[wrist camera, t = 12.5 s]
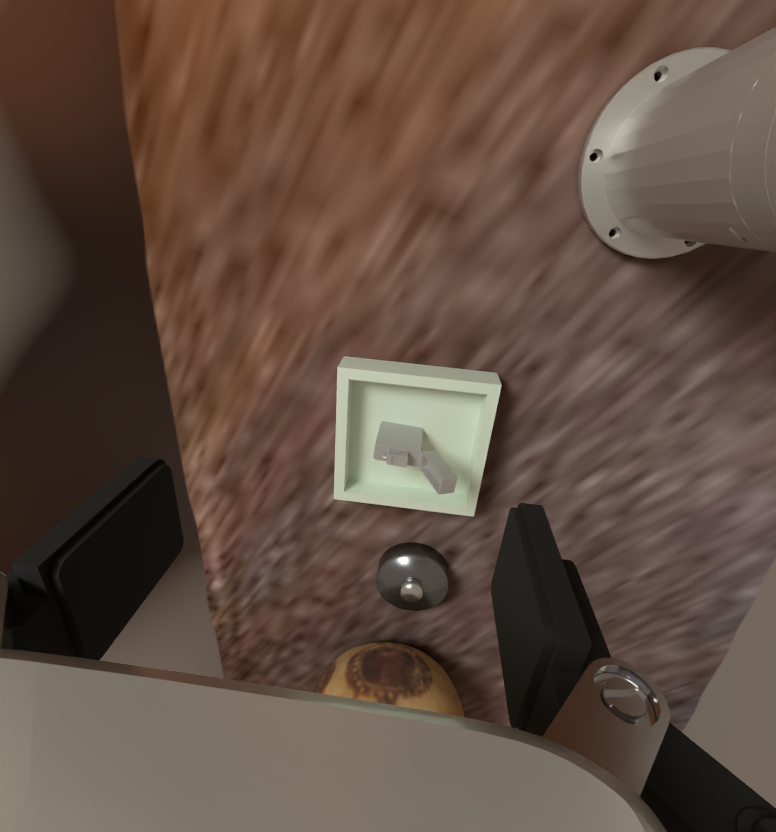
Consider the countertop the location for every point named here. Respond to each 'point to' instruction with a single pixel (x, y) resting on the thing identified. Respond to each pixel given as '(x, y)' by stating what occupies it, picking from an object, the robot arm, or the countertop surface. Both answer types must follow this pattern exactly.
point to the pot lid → (412, 576)
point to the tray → (421, 407)
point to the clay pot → (391, 678)
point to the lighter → (413, 454)
